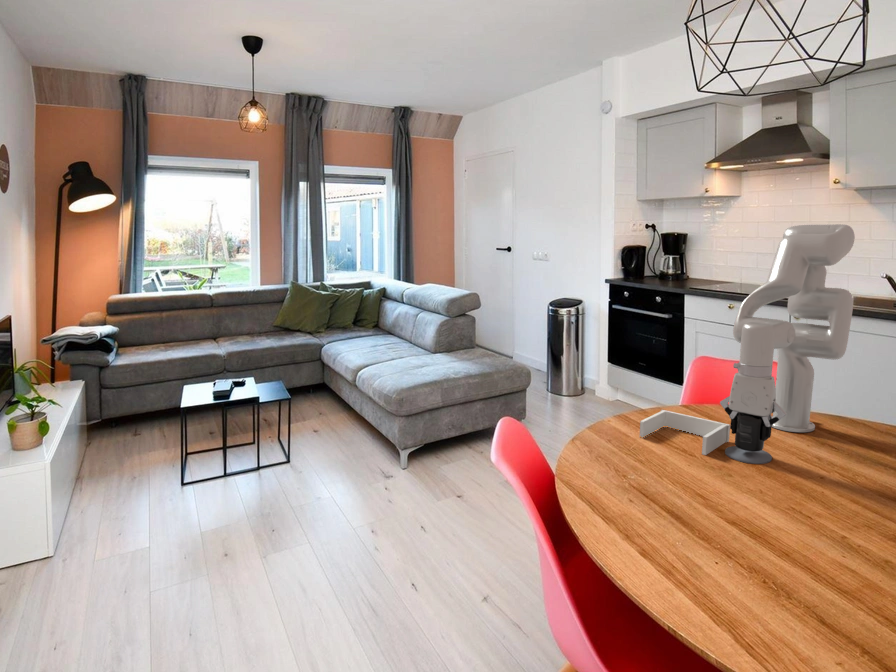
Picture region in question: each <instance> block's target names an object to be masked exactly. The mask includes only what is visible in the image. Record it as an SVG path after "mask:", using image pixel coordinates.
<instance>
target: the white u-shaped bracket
mask: <svg viewBox="0 0 896 672" xmlns="http://www.w3.org/2000/svg"><path fill="white" fill-rule="evenodd" d="M663 426H668V427H671V428H675V429H679V430H682V431H681V432H683V431H686V432H685V433H687V432H689V433H688V434H691V433H693V434H692V435H695V434H696V435H695V436H699V435H700V436H699V437H702V446H701V447H702V448H701V455H703V456H707V455H708V454H710V453H711V452H714V450H715V449H717V448H719V447H720V446H722V445H724V444H725V443H727V442H728V443H729V442H730V432H731V429H730V426H731V424H729V423H724V422H721V421H716V420H710V419H706V418H701V417H697V416H693V415H688V414H684V413H679V412H675V411H671V410H665V409H660V411H659V412H656V413H655V414H652V415H651V416H648V417H646V418H644V419H641V420H640V422H639V437H640V436H641V437H644V436H646V435H648V434H650V433H652V432H654V431H655V430H657V429H659V428H661V427H663ZM671 428H670V429H671ZM675 429H674V430H675ZM679 430H678V431H679ZM654 433H655V432H654ZM652 434H653V433H652ZM650 435H651V434H650ZM648 436H649V435H648ZM646 437H647V436H646ZM644 438H645V437H644Z"/></svg>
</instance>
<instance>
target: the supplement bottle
mask: <svg viewBox="0 0 896 672" xmlns="http://www.w3.org/2000/svg"><path fill="white" fill-rule="evenodd" d="M764 425H765V423H764V421H763V418H762V417H760V416H755V415H750V414H745V413H740V412H739V413H738V414H737V420H736V433H735V434H734V435H735V436H734V446H736V447H738V448H739V449H742V450H746V451H761V450H764V446H765V441H762V428H763V426H764Z"/></svg>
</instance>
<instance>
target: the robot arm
mask: <svg viewBox="0 0 896 672" xmlns="http://www.w3.org/2000/svg"><path fill="white" fill-rule="evenodd" d="M855 238H856V237H855V232H854V229H853V228H852V227H851V226H850V225H847V224H841V223H840V224H839V223H838V224H800V225H794V226H789V227H788V228H786V229H785V230H784V232H783V234H782V238H781V240H780V241H779V243H778V246H777V248H776V251H775V254H774V257H773V261H772V264H771V267H770V271H769V273H768V276H767V280H766V281H765V283H763V284H761V285H760V286H759V287H757V288H756V289H754V290H753V291H752V292H751V293H750V294H749V295H748V296H746V298H744V300H743V301H742V302H741V304H740V306H739V308H738V311H737V314H736V318H735V321H734V325H733V329H732V332H733V333H732V334H733V338H734V340H735V341H736V342H737V343H740V350H739V362H734V363H733V369H736V370H737V372H735V373H734V376H733V380H732V384H731V387H730V393H729V396H727V397H725V398H723V399H722V400H720V401H719V404H720V405H721V407H722V408H723V409H724V411H725V412H726V414H727V415H728V416H729V419H730V430H731V435H735V433H736V420H737V414H738V413H739V412H740V413H745V414H750V415H755V416H760V417H762V418H763V421H764V423H765V425H764V426H763V428H762V441H764V442H765V441H767V440H768V439H770V438H771V436H772V428H774V429H777V430H779V431H780V430H781V431H784V432H792V433H811V432H813V431H815V429H816V425H815V424H814V423H813V422H812V421H810V417H811V408H812V399H813V390H814V381H815V368H814V366H813V365H812V363H811V361H810V360H809V359H808V358H816V359H822V360H823V359H825V360H840V359H842V358H843V357H844V356H845V353H846V351H847V348H848V342H849V336H850V330H851V329H850V328H851V322H852V317H853V309H854V299H853V295H852V294H851V292H850V291H849V290H847V289H845V288H841V287H840V288H839V287H826V279H827V268H826V267H830V266H834V265H836V264H837V263H839V262H840V261H841V260H842V259H844V257H846V256H847V255H848V254H849V253H850V251H851V250H852V248H853V246H854V243H855ZM783 299H787V313H788V314H789V316H791V317H793V318H797V319H802V320H803V319H804V320H813V321H823V322H824V321H825V322H829V325H825V324H824V325H823V324H814V323H803V322H789V321H788V320H783V319H774V318H766V317H764V318H763V317H758V316H757V317H753V316H754V315H755V314H756V312H757V311H758V310H759V309H761V308H762V307H763V306H764V307H765V306H766V305H768V304H771V303H774V302H777V301H780V300H783ZM775 350H777V368H776V378H775V377H774V376H772V373H773V364H774V363H773V362H774V351H775ZM775 379H776V380H775Z"/></svg>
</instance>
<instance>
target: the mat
mask: <svg viewBox="0 0 896 672" xmlns="http://www.w3.org/2000/svg"><path fill="white" fill-rule="evenodd" d="M724 454H725V455H726V457H728V458H729V459H731V460H734V461H738V462H740V463H745V464H750V465H751V464H752V465H765V464H768V463H770V462H772V460H773V459H772V458H773V457H772V455H771V453H769V452H768V451H765V450H764V449H762V450H761V451H746V450H742V449H739V448H738V447H736V445H733V446H728V447H726V448H725V449H724Z"/></svg>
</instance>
